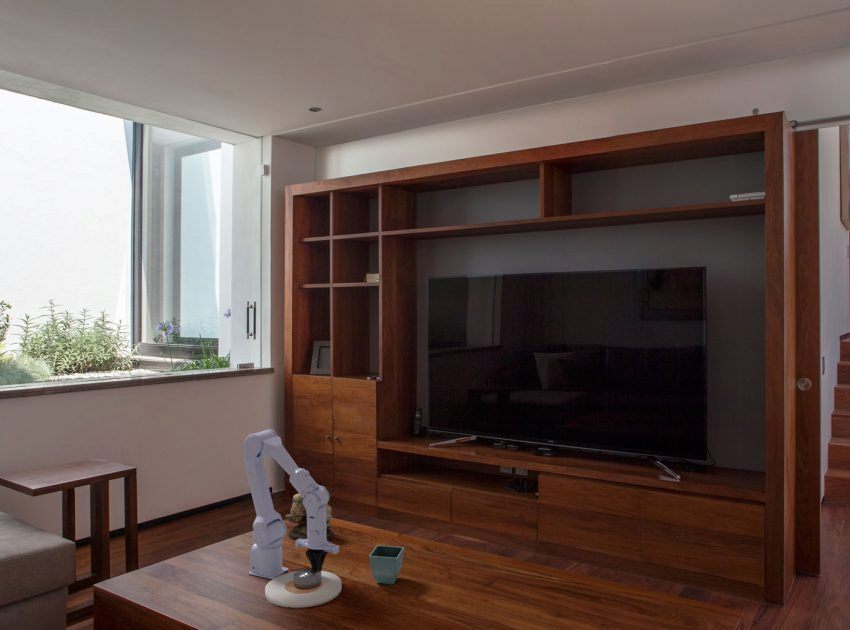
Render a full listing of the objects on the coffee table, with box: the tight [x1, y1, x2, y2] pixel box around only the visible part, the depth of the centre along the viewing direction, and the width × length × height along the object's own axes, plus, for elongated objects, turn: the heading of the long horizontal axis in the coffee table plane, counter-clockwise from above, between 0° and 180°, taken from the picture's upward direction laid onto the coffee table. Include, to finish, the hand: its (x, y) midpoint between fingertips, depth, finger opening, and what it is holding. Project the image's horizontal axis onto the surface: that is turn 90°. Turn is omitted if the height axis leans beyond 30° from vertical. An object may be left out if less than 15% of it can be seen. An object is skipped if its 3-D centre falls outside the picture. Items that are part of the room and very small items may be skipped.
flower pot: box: [369, 544, 405, 585], centre depth 200 cm, size 9×9×9 cm
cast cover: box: [294, 567, 322, 590], centre depth 195 cm, size 8×8×3 cm
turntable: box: [264, 570, 343, 609], centre depth 194 cm, size 22×22×2 cm
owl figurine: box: [285, 493, 335, 541], centre depth 239 cm, size 18×12×17 cm, turn 78°
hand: (317, 573), depth 200 cm, fingers closed
